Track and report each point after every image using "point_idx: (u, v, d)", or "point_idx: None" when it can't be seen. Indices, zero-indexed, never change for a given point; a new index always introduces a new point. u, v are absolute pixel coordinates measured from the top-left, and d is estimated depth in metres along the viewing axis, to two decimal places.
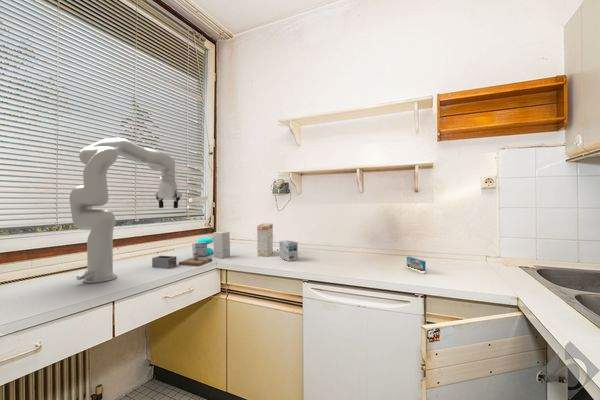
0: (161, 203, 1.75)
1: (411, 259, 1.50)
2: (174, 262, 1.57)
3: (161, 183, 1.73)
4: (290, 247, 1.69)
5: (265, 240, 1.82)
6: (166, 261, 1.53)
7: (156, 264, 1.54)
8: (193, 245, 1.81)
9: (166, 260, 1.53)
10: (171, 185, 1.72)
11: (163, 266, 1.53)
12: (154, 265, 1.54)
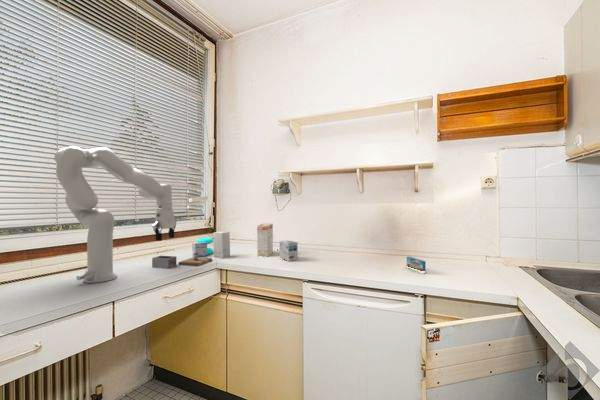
0: None
1: (411, 259, 1.50)
2: (174, 262, 1.57)
3: (165, 212, 1.53)
4: (290, 247, 1.69)
5: (265, 240, 1.82)
6: (166, 261, 1.53)
7: (156, 264, 1.54)
8: (193, 245, 1.81)
9: (166, 260, 1.53)
10: (173, 213, 1.60)
11: (163, 266, 1.53)
12: (154, 265, 1.54)
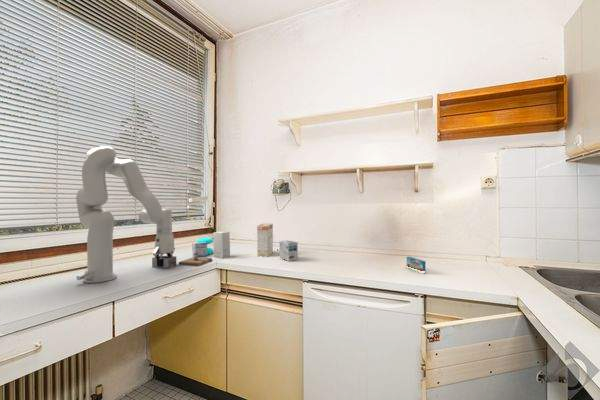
0: None
1: (411, 259, 1.50)
2: (174, 262, 1.57)
3: (164, 237, 1.53)
4: (290, 247, 1.69)
5: (265, 240, 1.82)
6: (166, 261, 1.53)
7: (156, 264, 1.54)
8: (193, 245, 1.81)
9: (166, 260, 1.53)
10: (173, 237, 1.60)
11: (163, 266, 1.53)
12: (154, 265, 1.54)
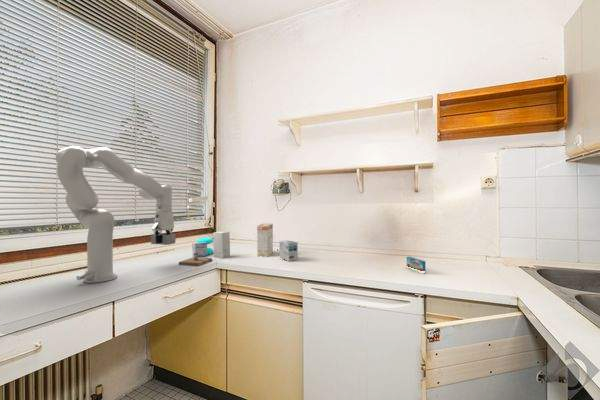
0: None
1: (411, 259, 1.50)
2: (173, 239, 1.56)
3: (164, 213, 1.53)
4: (290, 247, 1.69)
5: (265, 240, 1.82)
6: (165, 237, 1.52)
7: (155, 240, 1.54)
8: (193, 245, 1.81)
9: (165, 236, 1.52)
10: (172, 215, 1.59)
11: (162, 242, 1.52)
12: (153, 242, 1.54)
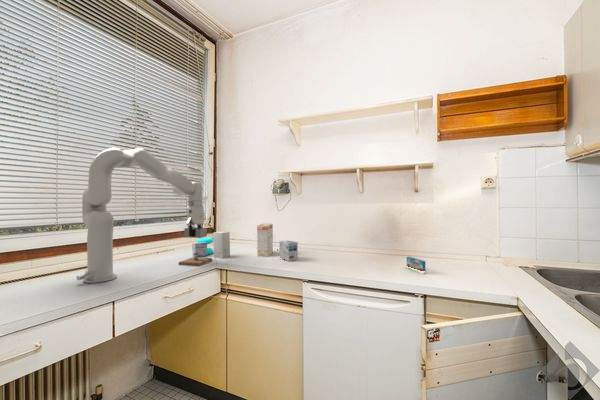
0: None
1: (411, 259, 1.50)
2: (205, 233, 1.66)
3: (196, 208, 1.62)
4: (290, 247, 1.69)
5: (265, 240, 1.82)
6: (198, 231, 1.61)
7: None
8: (193, 245, 1.81)
9: (198, 230, 1.61)
10: (203, 210, 1.68)
11: (195, 236, 1.62)
12: (186, 235, 1.63)
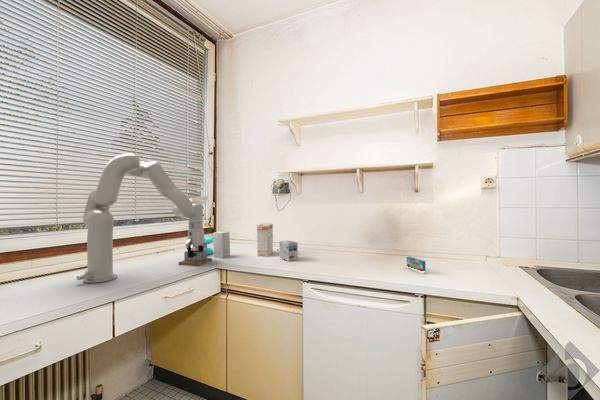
0: None
1: (411, 259, 1.50)
2: (205, 256, 1.66)
3: (197, 230, 1.62)
4: (290, 247, 1.69)
5: (265, 240, 1.82)
6: (198, 255, 1.61)
7: (188, 257, 1.63)
8: None
9: (198, 253, 1.61)
10: (203, 231, 1.68)
11: (195, 260, 1.62)
12: (186, 259, 1.63)
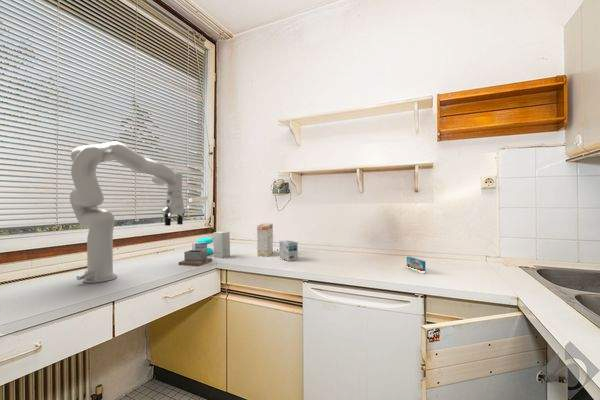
0: None
1: (411, 259, 1.50)
2: (205, 256, 1.66)
3: (175, 198, 1.61)
4: (290, 247, 1.69)
5: (265, 240, 1.82)
6: (198, 255, 1.61)
7: (188, 257, 1.63)
8: (193, 245, 1.81)
9: (198, 253, 1.61)
10: (182, 201, 1.67)
11: (195, 260, 1.62)
12: (186, 259, 1.63)
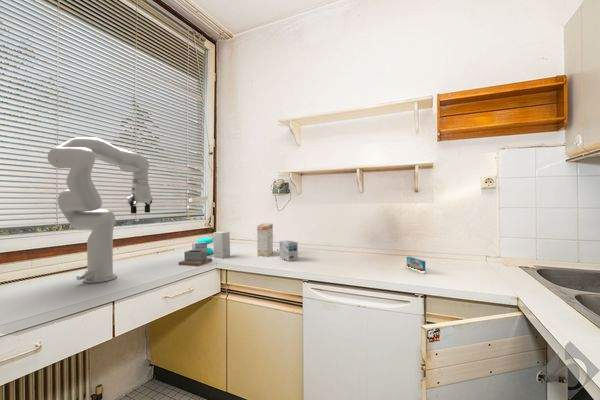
0: None
1: (411, 259, 1.50)
2: (205, 256, 1.66)
3: (140, 186, 1.59)
4: (290, 247, 1.69)
5: (265, 240, 1.82)
6: (198, 255, 1.61)
7: (188, 257, 1.63)
8: (193, 245, 1.81)
9: (198, 253, 1.61)
10: (149, 189, 1.66)
11: (195, 260, 1.62)
12: (186, 259, 1.63)
